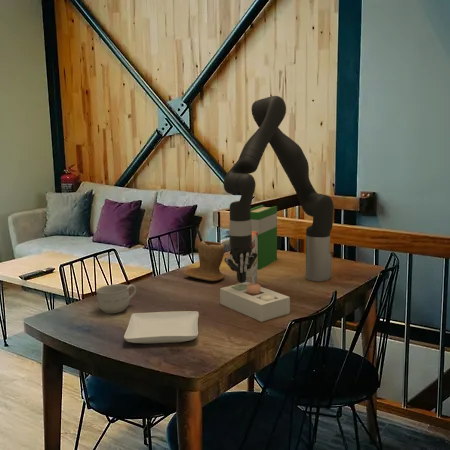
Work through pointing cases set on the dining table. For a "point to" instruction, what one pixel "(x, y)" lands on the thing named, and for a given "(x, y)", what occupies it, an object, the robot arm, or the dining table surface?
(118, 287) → the teacup
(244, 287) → the sage button
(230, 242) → the robot arm
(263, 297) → the ivory button
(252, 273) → the cracker box
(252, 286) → the terracotta button
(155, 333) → the salad plate
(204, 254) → the brown boot
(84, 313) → the dining table surface
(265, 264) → the hardback book
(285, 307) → the console
